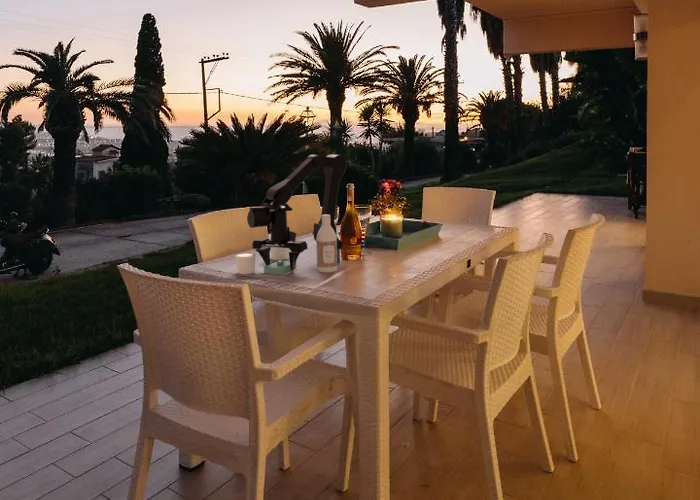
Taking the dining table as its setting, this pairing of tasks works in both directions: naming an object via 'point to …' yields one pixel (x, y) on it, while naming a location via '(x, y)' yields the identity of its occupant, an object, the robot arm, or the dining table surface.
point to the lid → (278, 267)
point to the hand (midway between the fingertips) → (280, 269)
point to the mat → (286, 272)
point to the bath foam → (326, 247)
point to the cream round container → (245, 263)
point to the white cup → (278, 252)
